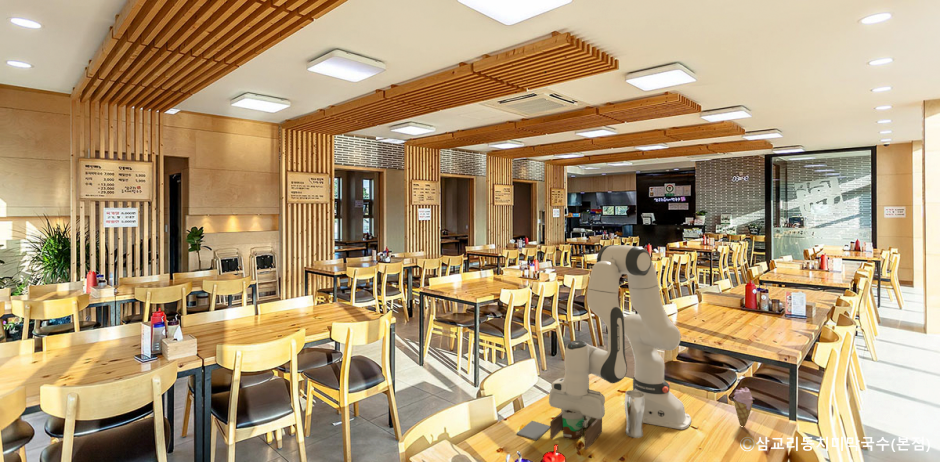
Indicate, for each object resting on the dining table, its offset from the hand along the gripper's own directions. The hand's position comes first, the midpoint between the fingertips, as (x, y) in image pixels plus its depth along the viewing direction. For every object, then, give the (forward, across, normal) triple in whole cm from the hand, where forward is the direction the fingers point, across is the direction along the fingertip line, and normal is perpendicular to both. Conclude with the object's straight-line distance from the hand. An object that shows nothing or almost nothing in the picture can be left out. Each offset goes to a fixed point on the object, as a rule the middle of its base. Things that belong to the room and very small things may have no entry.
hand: (576, 423), depth 166 cm
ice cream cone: (+4, -49, -42) cm, 65 cm away
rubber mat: (+4, +14, +6) cm, 16 cm away
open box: (+4, 0, 0) cm, 4 cm away
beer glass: (+4, -17, -13) cm, 22 cm away
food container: (+4, 0, 0) cm, 4 cm away
